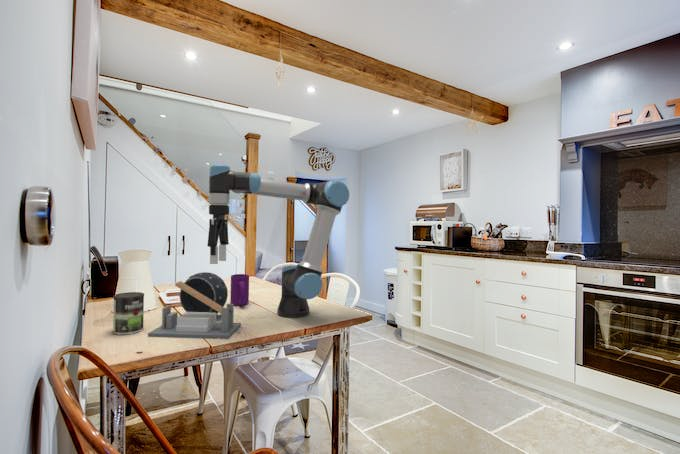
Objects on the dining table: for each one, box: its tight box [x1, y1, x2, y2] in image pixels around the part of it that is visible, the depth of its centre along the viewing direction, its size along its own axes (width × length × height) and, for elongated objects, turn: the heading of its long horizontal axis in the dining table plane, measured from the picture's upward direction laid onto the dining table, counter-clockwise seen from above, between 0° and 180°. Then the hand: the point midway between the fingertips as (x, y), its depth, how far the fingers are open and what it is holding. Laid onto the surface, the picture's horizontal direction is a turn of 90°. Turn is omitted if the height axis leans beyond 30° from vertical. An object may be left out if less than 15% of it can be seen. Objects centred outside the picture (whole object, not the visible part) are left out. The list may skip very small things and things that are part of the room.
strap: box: [174, 280, 232, 315], centre depth 138 cm, size 24×4×2 cm
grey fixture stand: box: [147, 303, 242, 340], centre depth 138 cm, size 30×16×10 cm, turn 89°
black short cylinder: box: [179, 271, 229, 314], centre depth 157 cm, size 11×20×20 cm, turn 78°
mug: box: [229, 273, 250, 307], centre depth 179 cm, size 9×16×15 cm, turn 24°
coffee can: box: [112, 291, 145, 336], centre depth 137 cm, size 10×10×14 cm
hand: (218, 262), depth 138 cm, fingers open, 9 cm apart
